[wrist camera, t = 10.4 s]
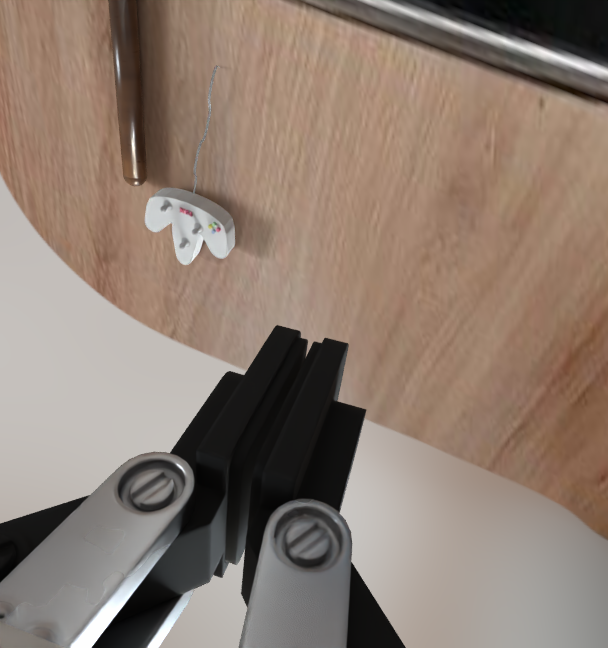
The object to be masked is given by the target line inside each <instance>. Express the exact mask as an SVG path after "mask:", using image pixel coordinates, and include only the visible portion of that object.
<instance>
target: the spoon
mask: <svg viewBox="0 0 608 648" xmlns="http://www.w3.org/2000/svg"><path fill="white" fill-rule="evenodd" d="M108 3H109V15H110V26H111V38H112V50H113V61H114V73H115V85H116V97H117V108H118V120H119V132H120V144H121V155H122V167H123V176H124V179H125V181H126V182H127V183H128V184H130V185H132V186H140V185H142V184H143V183H144V182H145V181H146V178H147V169H146V152H145V135H144V118H143V101H142V84H141V67H140V50H139V33H138V16H137V0H108Z"/></svg>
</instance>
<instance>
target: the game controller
mask: <svg viewBox="0 0 608 648" xmlns="http://www.w3.org/2000/svg"><path fill="white" fill-rule="evenodd" d="M217 67H219V66H215V68H214V71H213V75H212V79H211V83H210V89H209V96H208V104H209V114H208V120H207V125H206V130H205V133H204V137H203V139H202V140H201V141H200V144H199V147H198V150H197V154H196V159H195V165H194V175H195V184H194V190H193V193H192V192H189V191H186V190H182V189H177V188H163V189H160V190H159V191H158V192H157V193H156V194H154V195H153V196H152V197H151V198H150V199H149V201H148V203H147V207H146V214H145V224H146V226H147V227H148V229H150V230H151V231H153V232H159V231H161V230H162V229H163V228H164V227H166V226H167V225H168V224H169V223H172V224H173V226H172V234H173V240H174V245H175V251H176V256H177V258H178V260H179V261H180V262H181V263H182V264H184V265H188V264H190V263H191V261H192V260H193V259H194V258H195V257H196V256H197V255H198V253H199V252H200V249H201V246H202V243H203V240H204V241H205V242H206V244H207V246H208V247H209V249H210V251H211V252H212V254H213V255H214V256H215V257H217V258H221V259H222V258H225V257H226V256H227V255H228V254H229V252H230V251H231V250H232V248H233V247H234V246H235V226H234V223H233V219H232V217H231V215H230V214H229V213H228V212H227V211H226V210H225V209H223V208H222V207H221V206H219V205H218V204H216V203H214V202H213V201H211V200H209V199H207V198H205V197H203V196H200V195H198V194H196V193H195V189H196V183H197V176H196V165H197V159H198V154H199V150H200V147H201V144H202V142H203V141H204V139H205V137H206V134H207V130H208V125H209V120H210V114H211V105H210V96H211V89H212V84H213V79H214V75H215V72H216V69H217Z"/></svg>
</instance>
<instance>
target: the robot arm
mask: <svg viewBox="0 0 608 648" xmlns="http://www.w3.org/2000/svg"><path fill="white" fill-rule="evenodd" d="M300 337H301V332H300V331H298V330H294V329H290V328H286V327H282V326H278V325H277V326H275V328H274V329H273V331H272V332H271V334H270V335H269V337H268V339H267V340H266V342H265V343H264V345H263V346H262V348H261V350H260V351H259V353H258V354H257V356H256V357H255V359H254V361H253V362H252V364H251V365H250V367H249V368H248V370H247V372H246V373H245V375H241V374H238V373H235V372H231V371H229V372H227V373H226V374H225V375H224V376H223V377H222V379H221V380H220V381H219V383H218V384H217V386H216V387H215V389H214V390H213V392H212V393H211V394H210V396H209V397H208V399H207V400H206V402H205V403H204V405H203V406H202V407H201V409H200V410H199V412H198V413H197V415H196V416H195V418H194V419H193V420H192V422H191V423H190V425H189V426H188V428H187V429H186V430H185V432H184V433H183V435H182V436H181V438H180V439H179V441H178V442H177V444H176V445H175V446H174V448H173V449H172V451H171V452H170V453H166V452H151V453H145V454H141V455H138V456H136V457H134V458H131V459H129V460H128V461H127V462H125V463H124V464H123V465H121V466H120V467H119V468H118V469H117V470H116V471H115V472H114V473H113V474H112V475H110V476H109V477H108V478H107V480H105V481H104V483H102V484H101V485H100V486H99V487H98V488H97V489H96V490H95V491H94V492H93V493H92V494H91V495H89V496H86V497H82V498H79V499H76V500H73V501H70V502H67V503H63V504H60V505H57V506H54V507H51V508H48V509H45V510H41V511H39V512H35V513H32V514H29V515H26V516H23V517H20V518H16V519H13V520H10V521H7V522H4V523H1V524H0V648H158V647H159V646H160V644H161V643H162V641H163V640H164V638H165V637H166V635H167V634H168V632H169V631H170V629H171V628H172V626H173V625H174V623H175V622H176V620H177V619H178V617H179V616H180V614H181V613H182V611H183V610H184V608H185V607H186V605H187V604H188V602H189V600H190V598H191V596H192V594H193V592H194V589H195V588H197V587H199V586H202V585H204V584H206V583H209V582H210V580H211V578H212V576H213V575H215V576H218V577H221V578H222V577H223V575H224V572H225V570H226V568H227V566H228V563H232V564H235V565H237V564H238V563H239V561H240V558H241V557H242V554H243V552H244V550H245V557H244V568H243V579H242V580H243V581H242V592H241V594H242V596H243V599H244V601H245V603H246V606H247V612H246V617H245V621H244V626H243V631H242V635H241V639H240V644H239V648H406V647H405V646H404V644H403V643H402V641H401V639H400V638H399V636H398V635H397V633H396V632H395V630H394V628H393V627H392V625H391V624H390V622H389V621H388V619H387V617H386V616H385V614H384V613H383V611H382V610H381V608H380V606H379V605H378V603H377V601H376V600H375V598H374V597H373V595H372V594H371V592H370V590H369V589H368V587H367V586H366V584H365V582H364V581H363V579H362V578H361V576H360V575H359V573H358V571H357V570H356V568H355V567H354V565H353V564H352V562H351V556H352V538H351V531H350V529H349V527H348V525H347V522H346V520H345V519H344V518H343V517H342V516H341V515H340V510H341V506H342V502H343V498H344V494H345V491H346V487H347V483H348V479H349V475H350V472H351V468H352V464H353V461H354V457H355V453H356V449H357V445H358V441H359V437H360V433H361V429H362V425H363V421H364V417H365V413H366V409H362V408H359V407H355V406H352V405H348V404H345V403H341V402H338V401H337V400H338V395H339V391H340V386H341V381H342V376H343V371H344V366H345V361H346V356H347V351H348V343H344V342H340V341H336V340H332V339H328V338H324V340H323V342H322V343H318V342H313V344H312V346H311V348H310V350H309V352H308V354H307V357H306V351H307V344H308V340H307V339H303V338H300ZM305 358H306V359H305Z"/></svg>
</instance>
